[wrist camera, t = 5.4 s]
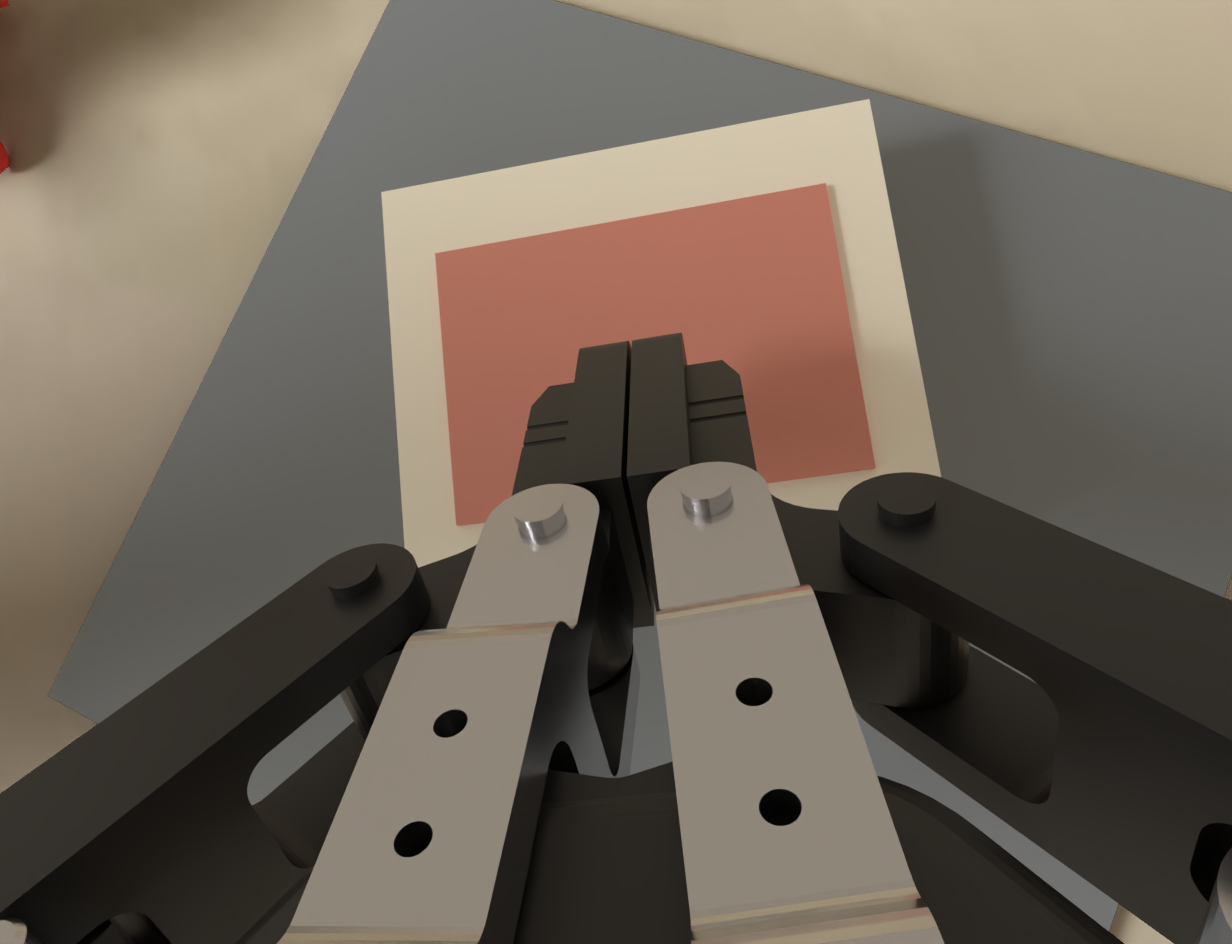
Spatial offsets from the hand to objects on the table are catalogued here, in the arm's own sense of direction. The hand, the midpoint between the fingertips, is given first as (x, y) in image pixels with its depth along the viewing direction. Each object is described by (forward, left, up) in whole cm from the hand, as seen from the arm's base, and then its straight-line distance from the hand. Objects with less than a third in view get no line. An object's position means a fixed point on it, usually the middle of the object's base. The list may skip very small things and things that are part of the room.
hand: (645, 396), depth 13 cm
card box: (+1, -2, -3) cm, 4 cm away
